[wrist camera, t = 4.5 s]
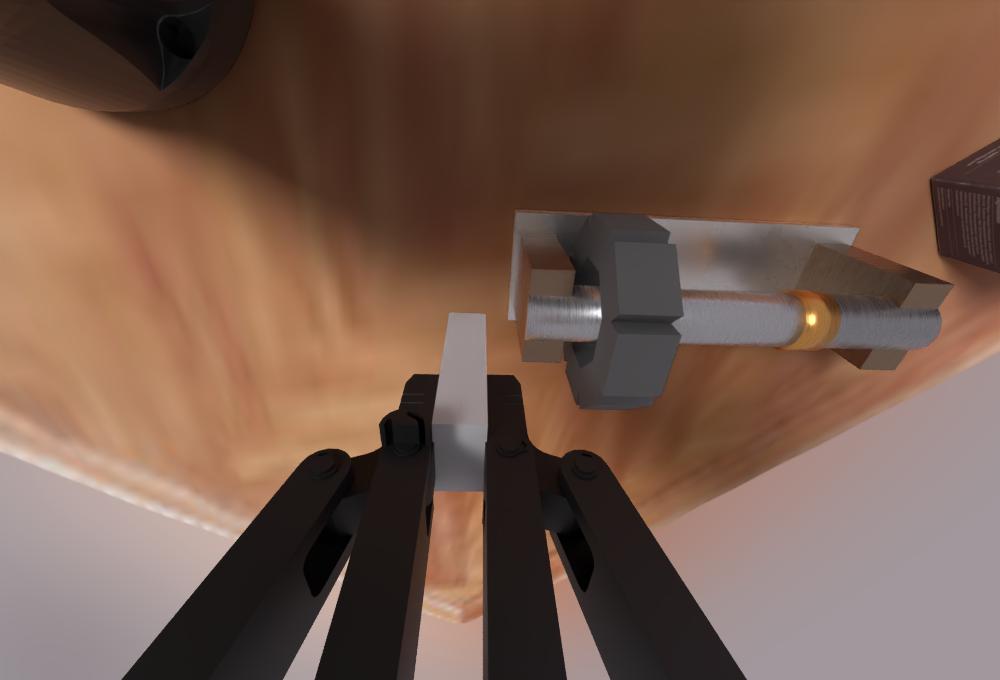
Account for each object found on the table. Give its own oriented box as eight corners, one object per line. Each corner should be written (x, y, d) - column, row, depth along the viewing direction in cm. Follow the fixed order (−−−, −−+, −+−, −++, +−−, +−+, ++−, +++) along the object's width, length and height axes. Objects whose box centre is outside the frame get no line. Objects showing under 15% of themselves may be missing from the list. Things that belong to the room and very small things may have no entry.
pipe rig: (507, 314, 27) (516, 387, 20) (514, 209, 23) (528, 253, 16) (799, 323, 28) (903, 394, 21) (849, 224, 24) (995, 271, 17)
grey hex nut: (556, 343, 26) (590, 449, 18) (578, 198, 21) (636, 254, 13) (593, 344, 26) (643, 449, 18) (624, 201, 21) (708, 257, 13)
